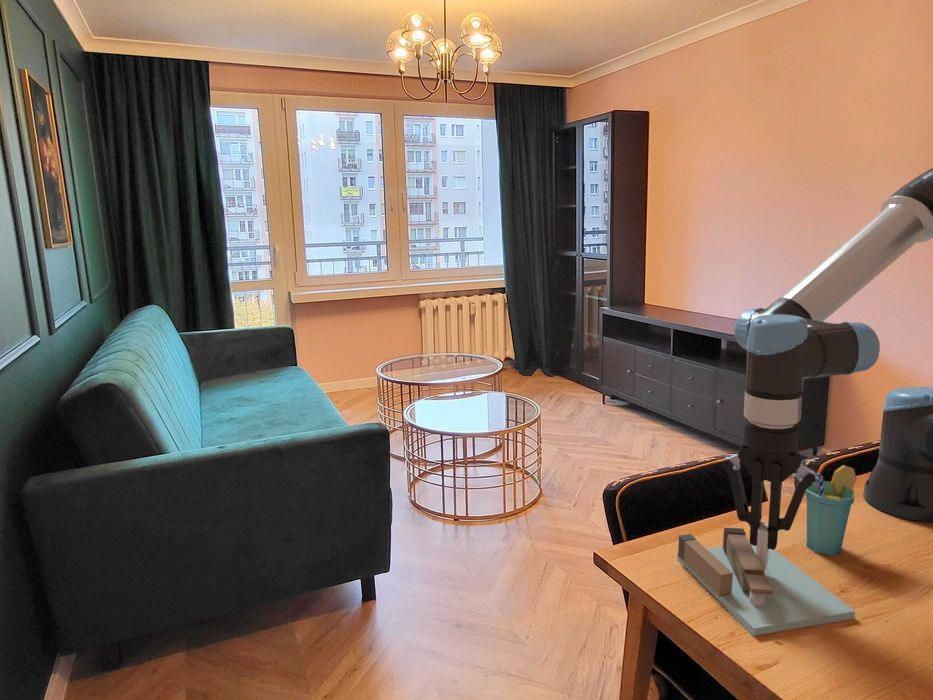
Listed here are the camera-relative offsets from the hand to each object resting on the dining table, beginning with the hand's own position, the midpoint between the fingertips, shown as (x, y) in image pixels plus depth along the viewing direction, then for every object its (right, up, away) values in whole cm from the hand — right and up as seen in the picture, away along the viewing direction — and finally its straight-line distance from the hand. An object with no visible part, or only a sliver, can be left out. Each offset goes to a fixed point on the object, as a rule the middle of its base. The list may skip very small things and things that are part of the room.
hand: (761, 564), depth 98 cm
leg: (-3, -2, 0) cm, 3 cm away
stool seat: (-1, -3, -1) cm, 3 cm away
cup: (+14, -1, +9) cm, 17 cm away
